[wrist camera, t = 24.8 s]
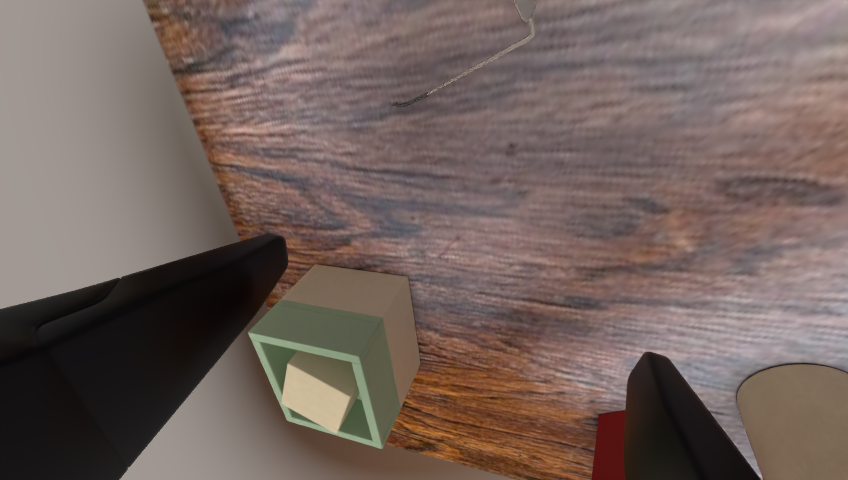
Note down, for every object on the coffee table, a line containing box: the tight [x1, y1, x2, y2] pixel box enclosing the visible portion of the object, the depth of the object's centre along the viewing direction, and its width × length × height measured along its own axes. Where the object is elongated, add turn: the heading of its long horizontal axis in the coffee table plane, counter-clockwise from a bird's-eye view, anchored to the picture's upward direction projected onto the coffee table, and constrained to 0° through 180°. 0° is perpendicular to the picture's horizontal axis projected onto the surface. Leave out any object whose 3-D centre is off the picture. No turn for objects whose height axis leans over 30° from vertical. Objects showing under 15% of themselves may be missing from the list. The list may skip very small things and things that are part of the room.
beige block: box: [281, 350, 360, 434], centre depth 24 cm, size 5×4×3 cm
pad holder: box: [248, 264, 421, 449], centre depth 26 cm, size 8×7×7 cm
